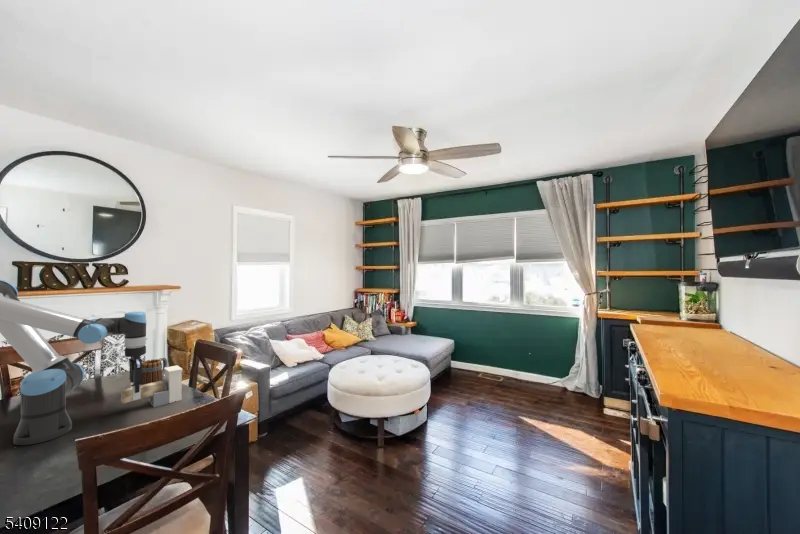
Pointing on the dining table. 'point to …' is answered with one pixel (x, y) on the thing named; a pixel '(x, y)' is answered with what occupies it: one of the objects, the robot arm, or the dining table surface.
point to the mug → (153, 370)
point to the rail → (144, 391)
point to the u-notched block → (169, 387)
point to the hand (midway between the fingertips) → (135, 397)
